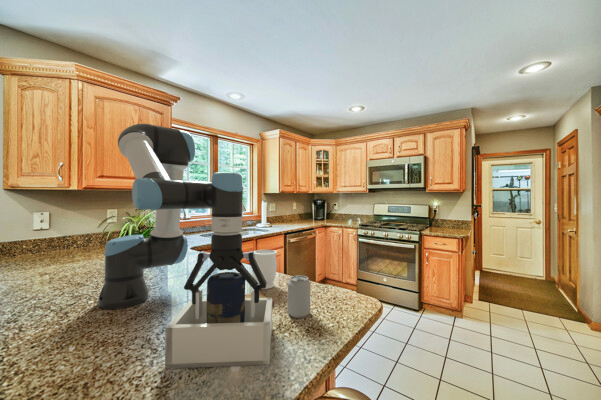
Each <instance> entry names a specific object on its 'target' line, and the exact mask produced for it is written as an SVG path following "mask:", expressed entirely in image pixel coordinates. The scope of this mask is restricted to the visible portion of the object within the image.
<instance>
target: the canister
mask: <svg viewBox="0 0 601 400" xmlns="http://www.w3.org/2000/svg"><path fill="white" fill-rule="evenodd" d="M245 295H246V280H245V279H244V277H243V276H242V275H241V274H240V273H239V272H238V271H237V272H236V271H223V272H218V273H214V274H211V275H210V276H209V277H208V278H207V283H206V299H207V307H206V311H207V321H206V324H214V323H244V321H245Z"/></svg>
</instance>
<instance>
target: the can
mask: <svg viewBox="0 0 601 400" xmlns="http://www.w3.org/2000/svg"><path fill="white" fill-rule="evenodd" d="M287 313H288V314H289V315H290V316H291V317H292V318H296V319H302V318H305V317H308V315H309V314H310V313H311V281H310V280H309V277H308V276H306V275H302V274H301V275H300V274H298V275H296V274H295V275H292V276H290V277H289V280H288V282H287Z"/></svg>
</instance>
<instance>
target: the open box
mask: <svg viewBox="0 0 601 400" xmlns="http://www.w3.org/2000/svg"><path fill="white" fill-rule="evenodd" d="M272 301H273V297H268V298H259V302H258V303H255V315H254V317H251V298H245V321H244V323H214V324H206V321H207V311H206V307H207V298H202V315H201V316H200V318H199V319H196V304H192V298H191V299H190V300H189V301H188V302H187V303H186V304H185V305H184V306H183V307H182V309H181V310H180V311H179V312H178V313H177V314H176V316H175V317H174V318H173V319H172V320H171V321H170V322H169V323H168V325H167V326H166V327H165V329H164V330H165V331H164V332H165V335H164V342H165V343H164V346H165V347H164V369H165V370H169V369H170V370H171V369H189V368H190V369H192V368H213V367H214V368H215V367H216V368H217V367H238V366H239V367H240V366H261V365H262V366H265V365H268V366H269V365H270V363H271V362H270V361H271V352H272V351H271V350H272V349H271V347H272V332H273V306H272Z"/></svg>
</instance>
